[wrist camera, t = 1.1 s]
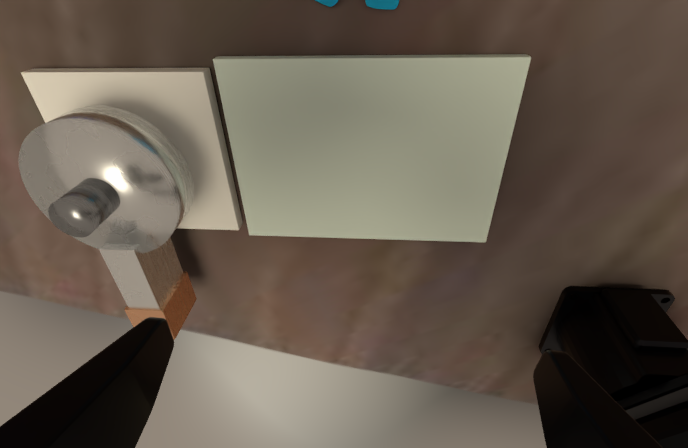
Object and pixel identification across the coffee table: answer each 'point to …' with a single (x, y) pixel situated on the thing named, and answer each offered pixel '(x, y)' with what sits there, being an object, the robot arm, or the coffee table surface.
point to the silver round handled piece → (117, 201)
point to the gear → (368, 3)
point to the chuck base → (157, 123)
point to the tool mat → (371, 142)
